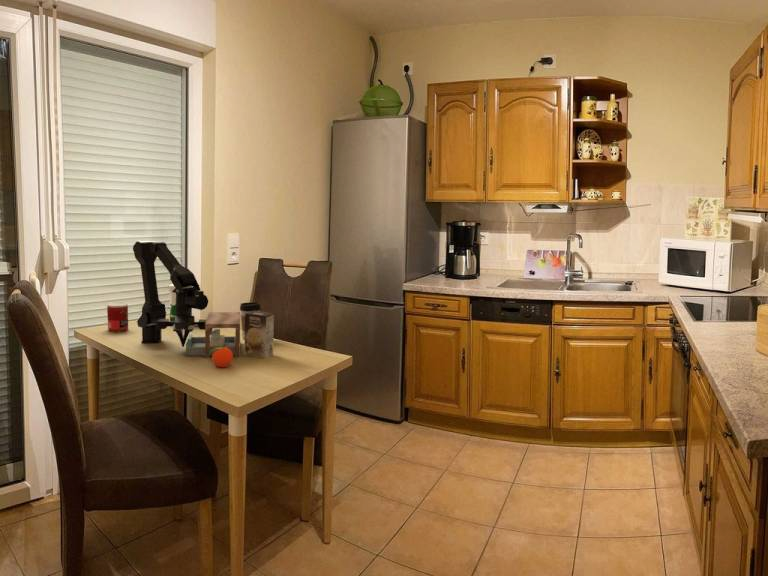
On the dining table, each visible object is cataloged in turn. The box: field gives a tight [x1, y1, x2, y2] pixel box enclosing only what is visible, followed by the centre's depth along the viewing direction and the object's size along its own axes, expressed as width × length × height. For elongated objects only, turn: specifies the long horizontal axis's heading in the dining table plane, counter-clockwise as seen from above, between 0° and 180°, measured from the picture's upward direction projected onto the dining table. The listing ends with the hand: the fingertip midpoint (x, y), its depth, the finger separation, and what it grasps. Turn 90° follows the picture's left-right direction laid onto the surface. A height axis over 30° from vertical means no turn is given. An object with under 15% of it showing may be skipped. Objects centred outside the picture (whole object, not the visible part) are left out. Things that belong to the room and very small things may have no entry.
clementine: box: [209, 347, 234, 368], centre depth 198 cm, size 8×7×7 cm
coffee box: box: [244, 310, 275, 359], centre depth 214 cm, size 9×6×16 cm
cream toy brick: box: [210, 328, 226, 346], centre depth 219 cm, size 6×9×6 cm, turn 11°
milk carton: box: [167, 283, 189, 321], centre depth 257 cm, size 9×9×20 cm
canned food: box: [106, 302, 129, 333], centre depth 242 cm, size 8×8×11 cm
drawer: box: [185, 333, 235, 356], centre depth 219 cm, size 18×16×4 cm
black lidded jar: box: [239, 302, 261, 341], centre depth 237 cm, size 8×8×15 cm
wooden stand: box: [204, 311, 241, 359], centre depth 219 cm, size 12×21×12 cm, turn 14°
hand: (183, 346), depth 216 cm, fingers closed
